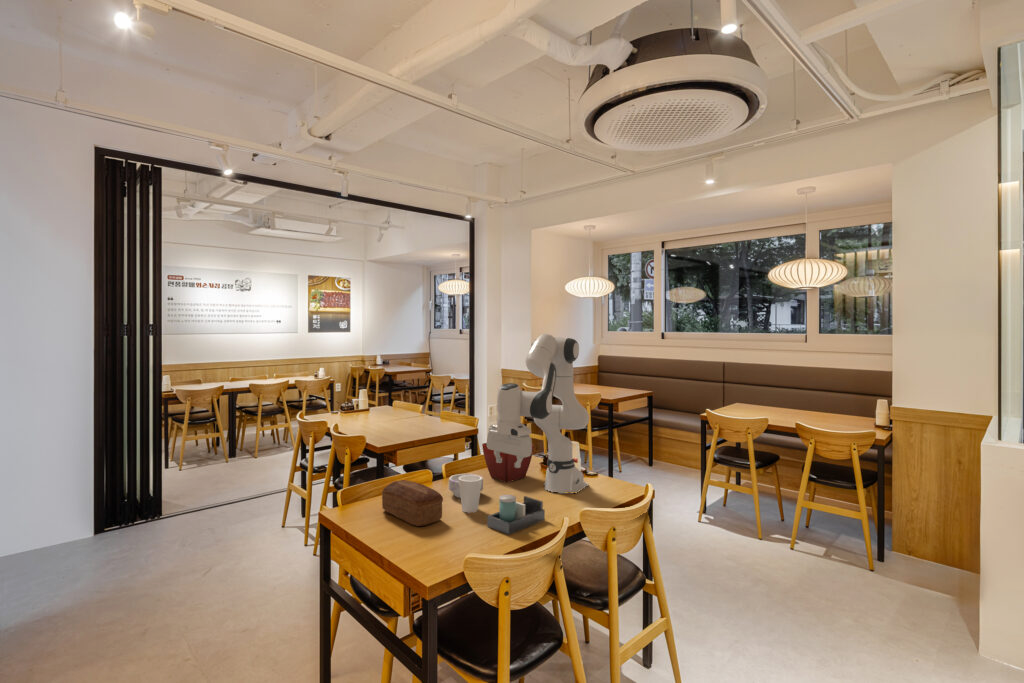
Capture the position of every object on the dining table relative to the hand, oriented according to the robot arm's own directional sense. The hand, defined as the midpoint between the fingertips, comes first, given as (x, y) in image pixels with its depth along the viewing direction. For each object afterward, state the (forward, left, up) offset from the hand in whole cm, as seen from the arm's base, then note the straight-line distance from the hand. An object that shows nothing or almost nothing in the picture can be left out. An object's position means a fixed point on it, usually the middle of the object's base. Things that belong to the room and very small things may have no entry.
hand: (508, 465), depth 181 cm
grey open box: (-5, 0, -23) cm, 23 cm away
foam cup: (-2, -23, -23) cm, 33 cm away
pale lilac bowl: (-13, -38, -23) cm, 46 cm away
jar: (0, 0, -22) cm, 22 cm away
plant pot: (-46, -44, -23) cm, 68 cm away
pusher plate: (-4, 0, -22) cm, 22 cm away
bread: (+19, -34, -23) cm, 45 cm away
